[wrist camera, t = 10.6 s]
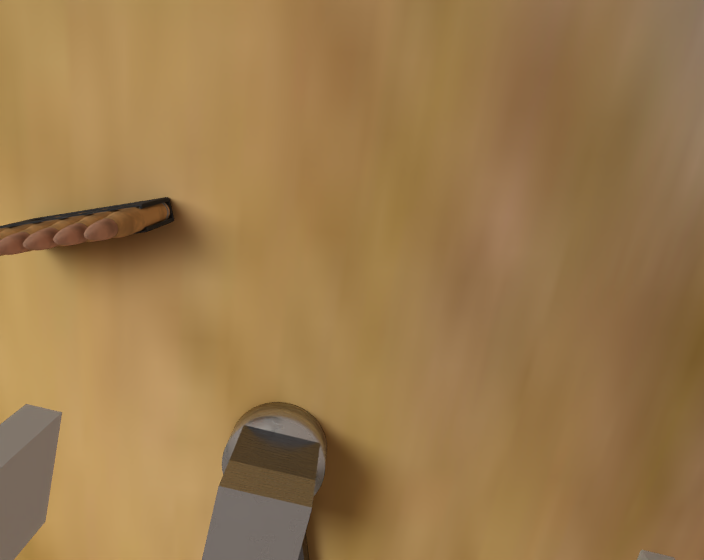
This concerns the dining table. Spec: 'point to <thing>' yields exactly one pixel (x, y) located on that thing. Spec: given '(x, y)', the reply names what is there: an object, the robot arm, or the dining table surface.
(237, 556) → the grey rectangular block
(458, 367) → the dining table surface
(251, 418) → the metal ladle
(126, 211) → the ammunition clip
